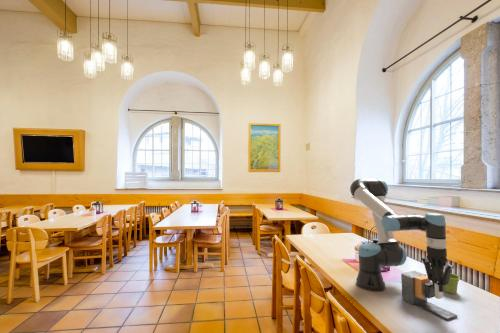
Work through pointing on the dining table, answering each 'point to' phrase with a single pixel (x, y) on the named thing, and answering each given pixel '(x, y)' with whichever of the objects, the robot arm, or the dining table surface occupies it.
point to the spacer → (420, 285)
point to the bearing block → (410, 298)
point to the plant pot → (452, 284)
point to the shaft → (429, 290)
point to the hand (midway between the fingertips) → (438, 297)
